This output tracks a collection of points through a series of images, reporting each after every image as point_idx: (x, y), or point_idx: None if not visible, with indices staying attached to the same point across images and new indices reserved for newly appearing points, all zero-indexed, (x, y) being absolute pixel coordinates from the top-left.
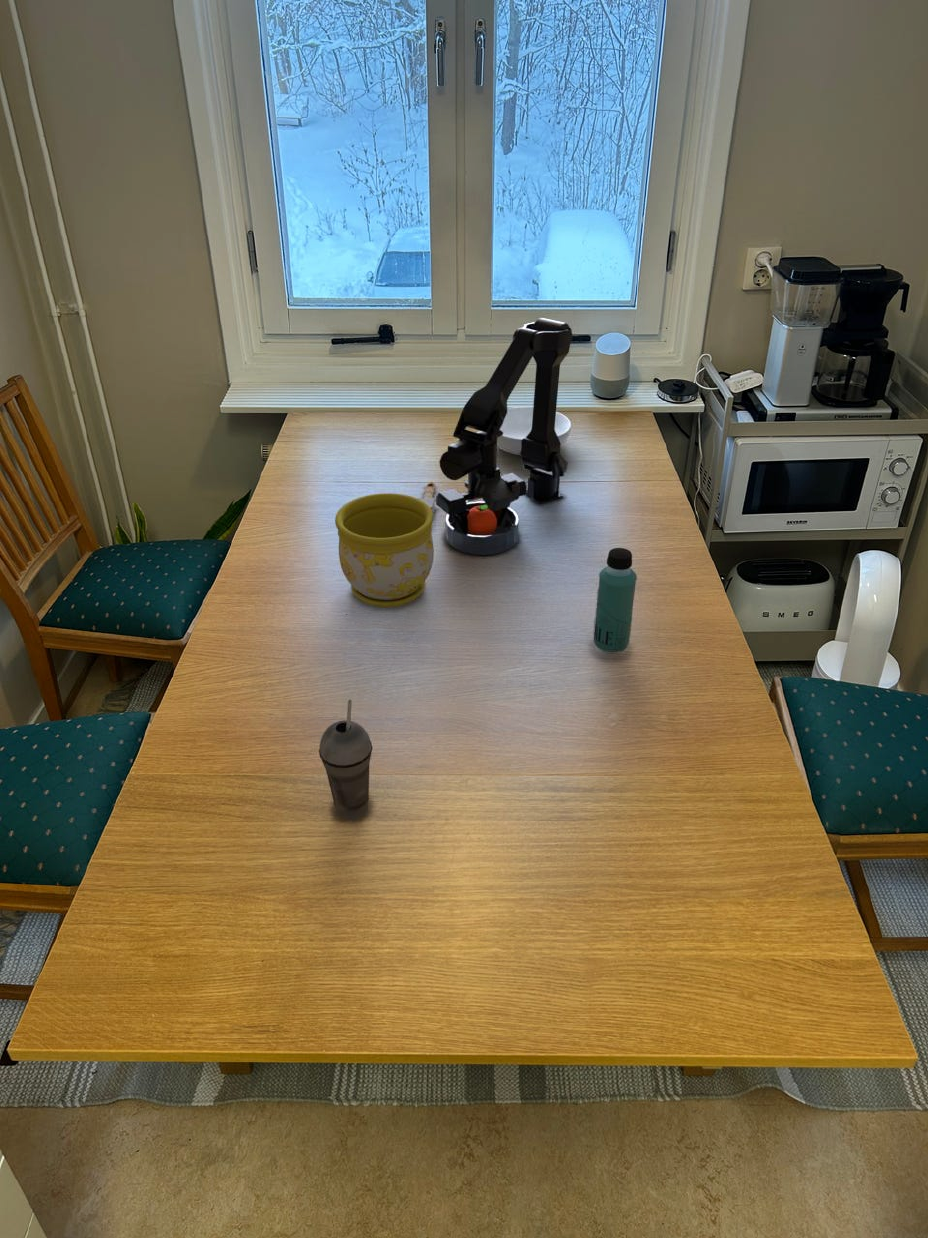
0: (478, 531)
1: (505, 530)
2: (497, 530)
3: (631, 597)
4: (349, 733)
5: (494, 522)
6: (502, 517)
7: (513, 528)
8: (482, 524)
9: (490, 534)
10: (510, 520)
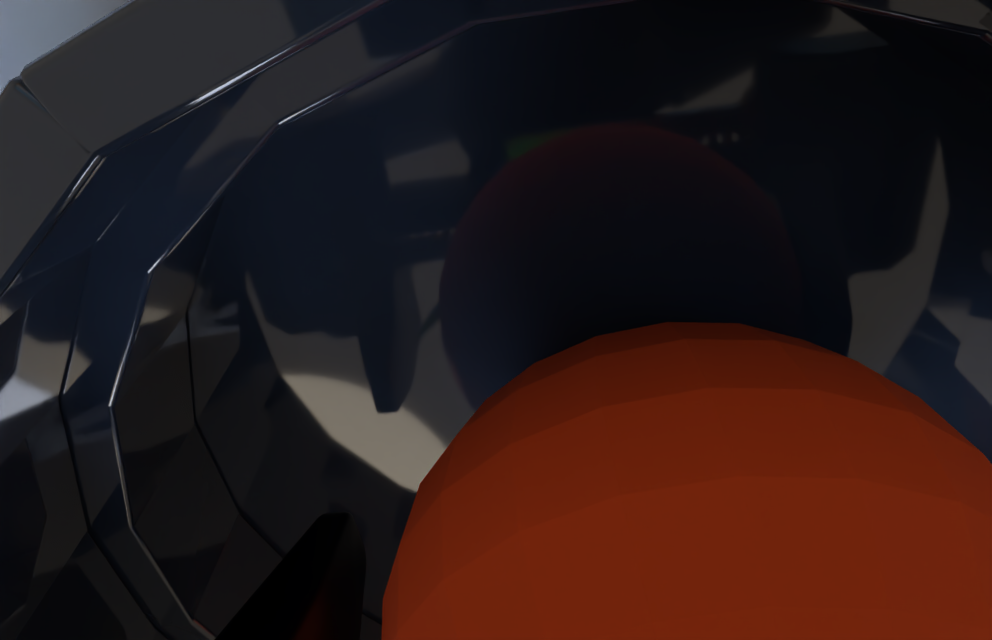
0: (936, 417)
1: (259, 438)
2: (362, 469)
3: None
4: None
5: (517, 538)
6: (240, 631)
7: (33, 83)
8: (924, 548)
9: (603, 338)
10: (126, 552)
